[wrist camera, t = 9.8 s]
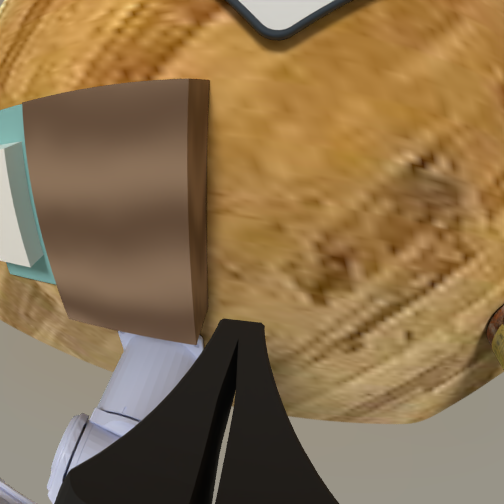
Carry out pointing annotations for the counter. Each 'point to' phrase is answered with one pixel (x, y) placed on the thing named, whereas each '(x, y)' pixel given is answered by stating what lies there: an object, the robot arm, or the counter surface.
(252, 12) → the phone case
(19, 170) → the tile
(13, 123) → the mat
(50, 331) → the counter surface
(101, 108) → the block
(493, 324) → the sauce bottle
